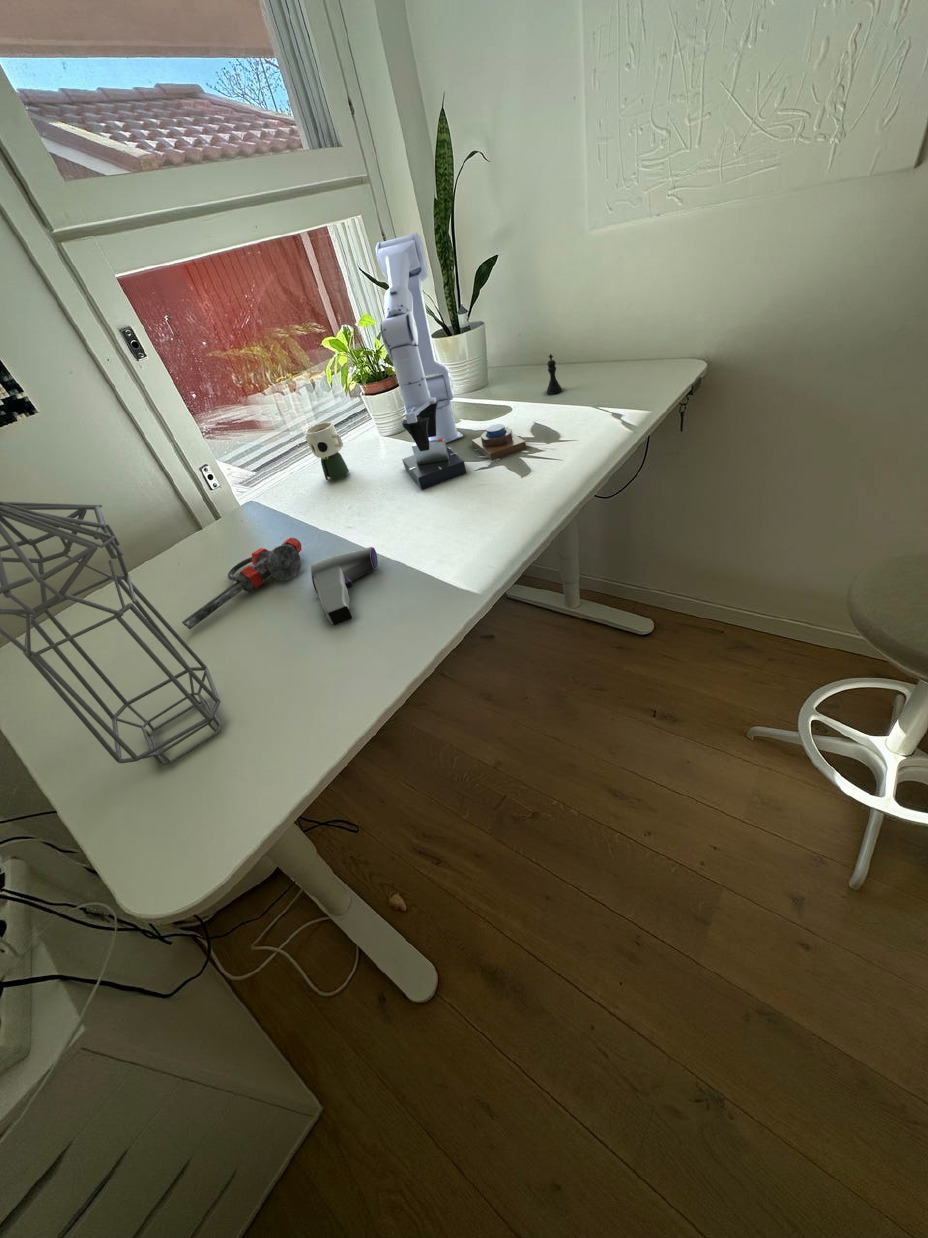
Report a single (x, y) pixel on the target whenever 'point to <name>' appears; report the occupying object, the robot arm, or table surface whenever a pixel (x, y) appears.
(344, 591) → the infrared thermometer
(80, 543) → the geometric lantern
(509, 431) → the button block
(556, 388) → the chess piece
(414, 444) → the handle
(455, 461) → the tap deck
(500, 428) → the button
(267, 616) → the table surface
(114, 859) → the table surface
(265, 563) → the chainsaw
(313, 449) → the character mug
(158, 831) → the table surface
